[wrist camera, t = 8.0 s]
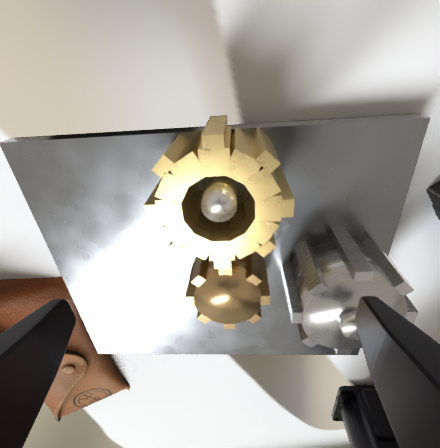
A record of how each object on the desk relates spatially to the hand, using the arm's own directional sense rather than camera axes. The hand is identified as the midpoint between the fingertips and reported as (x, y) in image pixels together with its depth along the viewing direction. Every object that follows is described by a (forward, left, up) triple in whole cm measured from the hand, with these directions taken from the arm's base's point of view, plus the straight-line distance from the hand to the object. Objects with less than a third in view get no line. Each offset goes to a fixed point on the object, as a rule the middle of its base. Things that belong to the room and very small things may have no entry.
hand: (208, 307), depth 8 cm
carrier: (-7, +1, -11) cm, 13 cm away
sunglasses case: (-17, +17, -12) cm, 26 cm away
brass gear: (+1, 0, -10) cm, 10 cm away
